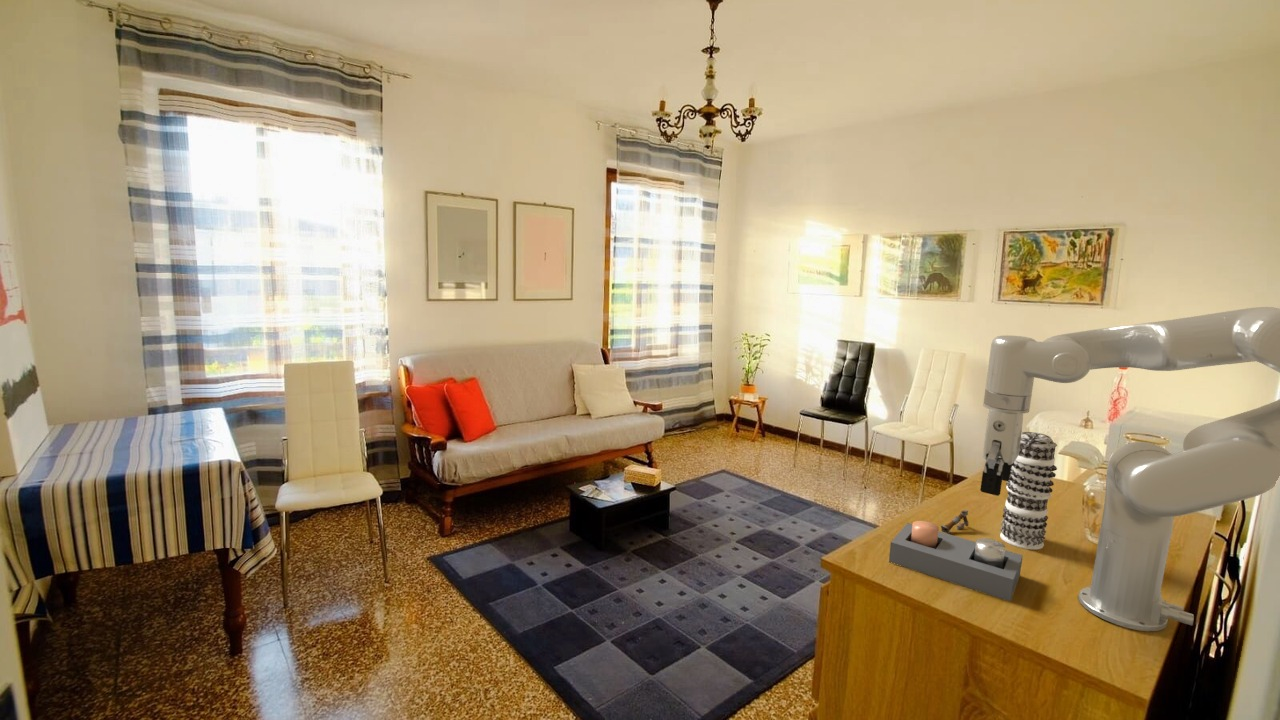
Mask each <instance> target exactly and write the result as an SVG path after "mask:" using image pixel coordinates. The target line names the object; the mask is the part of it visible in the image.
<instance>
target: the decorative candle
mask: <svg viewBox="0 0 1280 720" xmlns="http://www.w3.org/2000/svg"><path fill="white" fill-rule="evenodd" d="M1056 447H1058V444H1057V443H1056V442H1054V441H1053V438H1052V437H1051V436H1049V435H1048V434H1044V433H1041V432H1033V431H1024V432H1023V431H1022V433H1021V442H1020V452H1019V455H1018V457H1017V459H1016V460H1015V461H1014V463H1013V464H1011V471H1010V478H1009V480H1008V481H1006V490H1007V498H1006V500H1005V506H1004V507H1003V509H1002V510H1003V514H1002V518H1003V519H1002V520H1001V522H1000V525H1001V527H1000V534H999V536H1000V539H1001V540H1002V541H1003V542H1005V543H1007V544H1009V545H1011V546H1013V547H1017V548H1020V549H1025V550H1035V551H1036V550H1041V549H1043V548H1044V546H1045V544H1044V542H1045V540H1046V537H1045V535H1046V533H1047V530H1046V528H1047V526H1048V523H1047V521H1048V519H1049V516H1048V509H1049V508H1048V507H1047V506H1048V501H1049V499H1050V498H1051V497H1052V494H1051V493H1052V492H1053V491H1054V489H1053V488H1051V487H1053V486H1054V484H1055V483H1054V481H1053V480H1051V479H1053V478H1055V477H1056V476H1057V475H1056V473H1055V471H1057V470H1058V467H1057V466H1056V465H1055V460H1056V458H1055V452H1056Z"/></svg>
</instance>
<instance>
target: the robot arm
mask: <svg viewBox="0 0 1280 720" xmlns="http://www.w3.org/2000/svg"><path fill="white" fill-rule="evenodd" d="M989 350H990V351H989V358H988V366H987V368H988V369H987V374H986V383H985V388H984V389H985V390H984V397H983V402H982V403H983V405H982V406H983V407H984V408H986V409H989V410H988V413H987V414H988V416H987V422H986V429H985V433H984V443H983V454H982V458H984V460H985V463H984V466H983V471H982V474H981V482H980V491H981V493H984V494H989V495H993V496H996V497H999V496H1000V495H1001V492H1002V491H1001V490H1002V485H1003V484H1002V483H1003V481H1004V482H1007V481H1008V480H1009V478H1010V476H1011V475H1010V471H1011V469H1012V468H1011V464H1013V463H1014V461H1015V460H1016V459H1017V457H1018V455H1019V452H1020V442H1021V433H1023V425H1024V424H1023V422H1024V414H1029V413H1030V408H1031V403H1032V402H1031V401H1032V396H1033V395H1032V394H1033V387H1034V380H1035V378H1037V379H1041V380H1045V381H1049V382H1053V383H1059V384H1071V383H1076V382H1078V381H1079V380H1082V379H1084V378H1085V377H1086V376H1087V375H1088V374H1089V372H1090V371H1091V370H1100V369H1110V368H1111V369H1112V368H1115V369H1116V368H1130V369H1131V368H1132V369H1141V370H1147V371H1157V372H1160V371H1161V372H1172V371H1173V372H1174V371H1183V370H1190V369H1197V368H1206V367H1216V366H1222V365H1225V366H1226V365H1234V364H1235V365H1237V364H1243V363H1251V362H1252V363H1253V362H1257V363H1260V364H1262V365H1263V366H1266V367H1268V368H1270V369H1272V370H1274V371H1275V372H1278V373H1280V307H1274V306H1259V307H1257V306H1255V307H1249V308H1248V307H1247V308H1243V309H1234V310H1228V311H1227V310H1226V311H1221V312H1215V313H1207V314H1202V315H1194V316H1190V317H1183V318H1175V319H1165V320H1161V321H1160V320H1158V321H1152V322H1144V323H1143V322H1142V323H1135V324H1130V325H1129V324H1128V325H1121V326H1113V327H1104V328H1097V329H1089V330H1083V331H1076V332H1068V333H1064V334H1057V335H1054V336H1050V337H1047V338H1046V339H1044V340H1043V341H1037V340H1035V338H1033V337H1027V336H1021V335H1008V334H1007V335H999V336H996V337H994V338H993V339H992V341H991V345H990V349H989ZM1182 444H1183V445H1182V449H1183V450H1181V451H1178V452H1175V453H1173V454H1172V453H1171V452H1170V451H1169V450H1167V449H1165V448H1163V447H1162V446H1160V445H1158V444H1154V443H1151V442H1147V441H1134V442H1133V441H1132V442H1128V443H1126V444H1124V445H1121V446H1119V447H1118V448H1117V449H1116V450H1115V451H1114V452H1113V453H1112V455H1110V458H1109V461H1108V463H1107V467H1106V468H1107V469H1106V479H1105V480H1106V481H1105V496H1104V504H1103V511H1102V518H1101V523H1100V529H1099V534H1098V540H1097V546H1096V547H1097V548H1096V551H1095V552H1096V553H1095V559H1094V566H1093V571H1092V577H1091V584H1090V586H1086V587H1083V588H1082V589H1080V591H1078V601H1079V602H1080V604H1081V605H1082V606H1083V608H1084V609H1086V610H1087V611H1089V612H1090V613H1091V614H1093V615H1095V616H1096V617H1098V618H1100V619H1103V620H1104V621H1106V622H1110V623H1111V624H1114V625H1116V626H1120V627H1122V628H1126V629H1131V630H1136V631H1142V632H1159V631H1162V630H1164V629H1165V628H1166V627H1167V625H1168V619H1171V620H1174V621H1177V622H1179V623H1182V624H1185V625H1189V626H1193V625H1194V618H1195V616H1194V614H1193V613H1190V612H1188V611H1184V606H1182V605H1178V604H1175V603H1170V602H1166V599H1163V597H1162V596H1163V593H1162V591H1161V590H1162V586H1163V581H1164V574H1165V570H1166V564H1167V558H1168V554H1169V553H1168V552H1169V547H1170V543H1171V540H1172V534H1173V529H1174V522H1175V521H1174V520H1175V517H1180V516H1181V517H1182V516H1186V515H1189V514H1195V513H1198V512H1202V511H1206V510H1210V509H1215V508H1217V507H1218V508H1219V507H1222V506H1225V505H1230V504H1232V503H1237V502H1241V501H1245V500H1248V499H1252V498H1255V497H1258V496H1260V495H1263V494H1265V493H1266V492H1268V491H1269V492H1270V490H1272V489H1273V488H1275V487H1276V486H1275V484H1276V481H1277V480H1278V478H1279V476H1280V398H1279V399H1277V400H1274V401H1273V402H1269V403H1266V404H1264V405H1261V406H1260V407H1259V406H1258V407H1257V408H1254V409H1250V410H1247V411H1244V412H1240V413H1237V414H1234V415H1231V416H1228V417H1225V418H1221V419H1218V420H1215V421H1212V422H1211V421H1210V422H1208V423H1205V424H1201V425H1199V426H1197V427H1195V428H1193V429H1191V430H1190V431H1189V432H1188V433H1187V434H1186V435H1185V437H1184V440H1183V443H1182Z"/></svg>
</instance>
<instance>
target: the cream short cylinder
mask: <svg viewBox="0 0 1280 720" xmlns="http://www.w3.org/2000/svg"><path fill="white" fill-rule="evenodd" d="M975 542H976V546H975V554H974V561H977V562H980V563H984V564H987V565H990V566H994V567H997V568H1000V569H1001V568H1003V562H1004V554H1005V550H1006V546H1005V545H1004V544H1003V543H1002V542H1000V541H998V540H995V539H993V538H984V537H982V538H977V539H976V541H975Z"/></svg>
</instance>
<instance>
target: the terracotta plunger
mask: <svg viewBox="0 0 1280 720" xmlns="http://www.w3.org/2000/svg"><path fill="white" fill-rule="evenodd" d="M911 524H912V534H911V542H914V543H917V544H920V545H924V546H927V547H930V548H934V549H935V548H937V540H938V531H939V530H940V528H939V526H938V525H937V524H935V523H933V522H930V521H925V520H916V521H913V522H912V523H911ZM939 532H940V531H939Z"/></svg>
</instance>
